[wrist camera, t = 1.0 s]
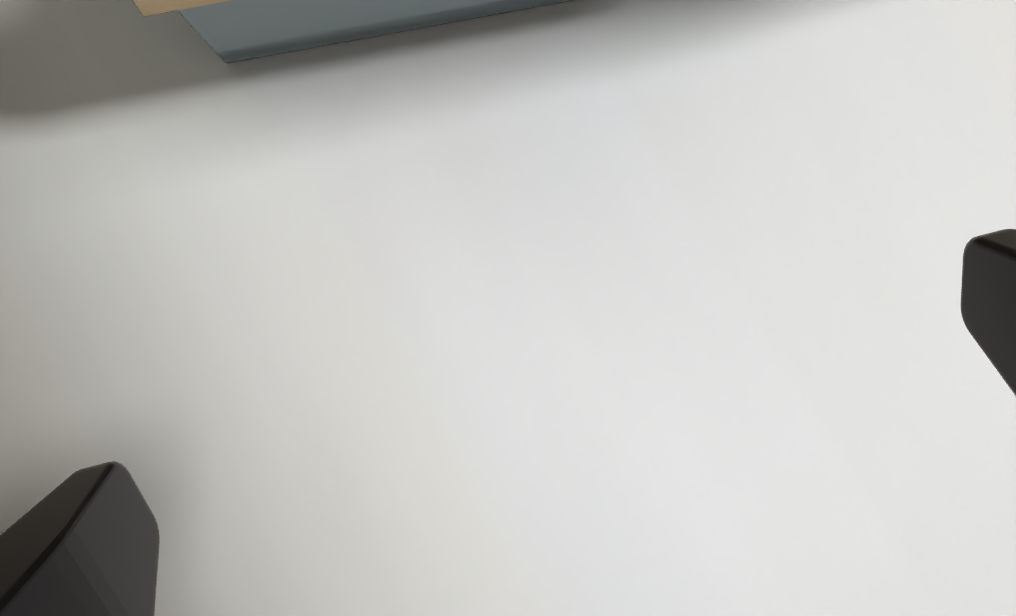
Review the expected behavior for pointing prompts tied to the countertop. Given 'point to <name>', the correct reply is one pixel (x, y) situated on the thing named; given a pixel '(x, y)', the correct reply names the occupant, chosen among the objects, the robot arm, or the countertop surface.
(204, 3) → the birch lid
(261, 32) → the slate box
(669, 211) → the countertop surface
